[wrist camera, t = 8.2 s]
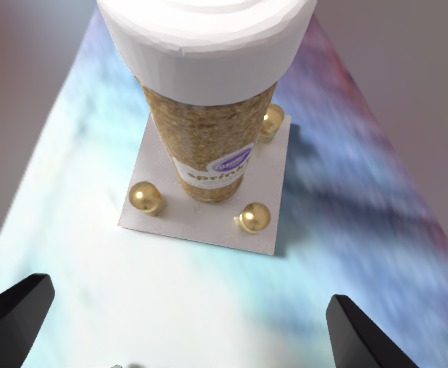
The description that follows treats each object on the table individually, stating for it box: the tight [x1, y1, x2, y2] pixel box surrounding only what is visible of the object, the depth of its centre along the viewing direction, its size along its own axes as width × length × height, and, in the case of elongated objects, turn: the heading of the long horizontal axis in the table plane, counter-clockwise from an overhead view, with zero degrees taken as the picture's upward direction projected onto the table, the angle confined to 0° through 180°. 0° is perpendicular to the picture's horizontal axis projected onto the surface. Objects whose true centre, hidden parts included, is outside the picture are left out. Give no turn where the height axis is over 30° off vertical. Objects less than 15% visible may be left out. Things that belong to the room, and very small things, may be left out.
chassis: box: [118, 103, 291, 255], centre depth 17 cm, size 10×10×4 cm
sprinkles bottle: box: [96, 0, 317, 202], centre depth 11 cm, size 5×5×14 cm
